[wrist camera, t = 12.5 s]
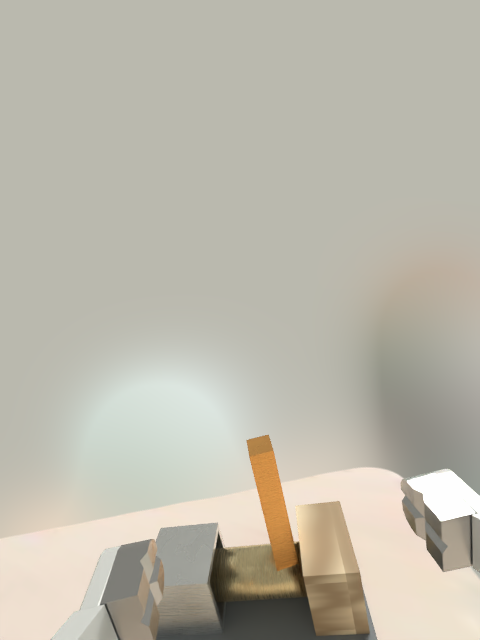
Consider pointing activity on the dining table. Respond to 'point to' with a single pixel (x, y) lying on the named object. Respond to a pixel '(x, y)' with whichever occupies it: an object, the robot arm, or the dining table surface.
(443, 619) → the dining table surface
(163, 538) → the matte gray cube
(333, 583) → the socket block
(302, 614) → the slate board
